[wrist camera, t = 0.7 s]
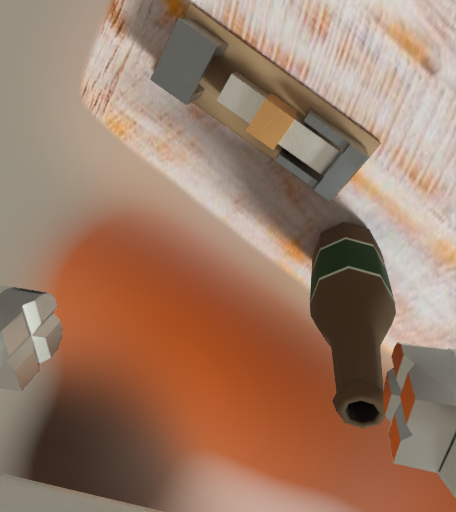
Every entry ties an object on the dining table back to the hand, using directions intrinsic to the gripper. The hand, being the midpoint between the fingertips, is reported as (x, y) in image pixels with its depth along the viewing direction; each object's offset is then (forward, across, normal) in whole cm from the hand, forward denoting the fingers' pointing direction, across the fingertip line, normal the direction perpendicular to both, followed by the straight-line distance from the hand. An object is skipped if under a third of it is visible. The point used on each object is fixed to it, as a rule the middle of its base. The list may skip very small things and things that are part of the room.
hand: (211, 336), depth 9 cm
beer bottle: (+37, -7, +16) cm, 41 cm away
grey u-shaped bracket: (+36, -3, +4) cm, 36 cm away
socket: (+37, +10, -4) cm, 38 cm away
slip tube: (+35, +1, +2) cm, 35 cm away
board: (+37, +3, 0) cm, 37 cm away
